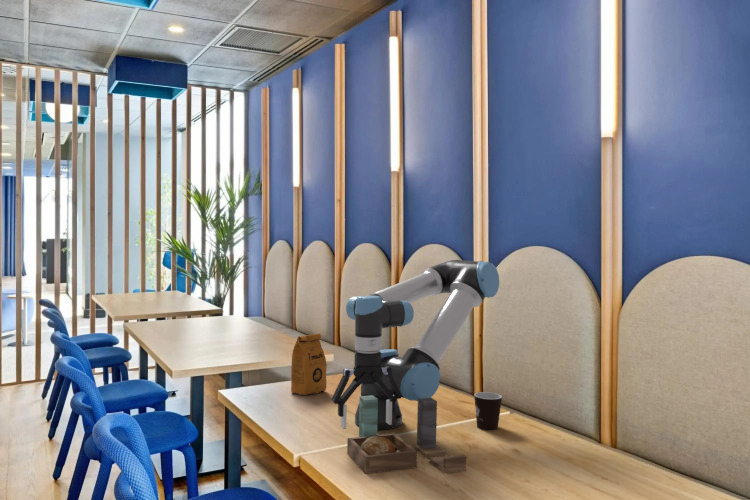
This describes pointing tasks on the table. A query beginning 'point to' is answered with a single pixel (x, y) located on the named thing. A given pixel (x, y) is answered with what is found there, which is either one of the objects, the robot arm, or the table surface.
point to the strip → (449, 463)
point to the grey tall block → (427, 429)
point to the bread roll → (378, 446)
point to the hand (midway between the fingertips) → (366, 425)
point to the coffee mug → (487, 410)
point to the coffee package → (308, 366)
